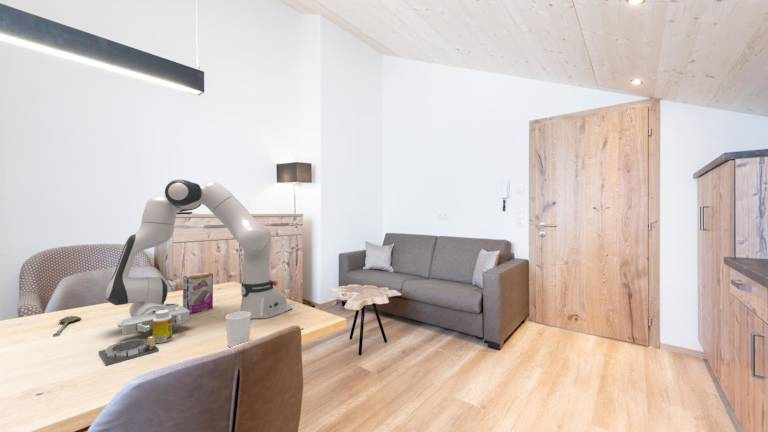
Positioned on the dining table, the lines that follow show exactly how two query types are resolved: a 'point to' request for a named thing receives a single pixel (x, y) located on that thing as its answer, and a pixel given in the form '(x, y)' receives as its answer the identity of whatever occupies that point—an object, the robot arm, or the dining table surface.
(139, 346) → the dock
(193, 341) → the dining table surface
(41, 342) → the dining table surface
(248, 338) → the white cup
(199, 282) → the candy bar box
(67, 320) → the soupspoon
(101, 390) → the dining table surface
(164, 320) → the supplement bottle
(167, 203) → the robot arm
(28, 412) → the dining table surface
